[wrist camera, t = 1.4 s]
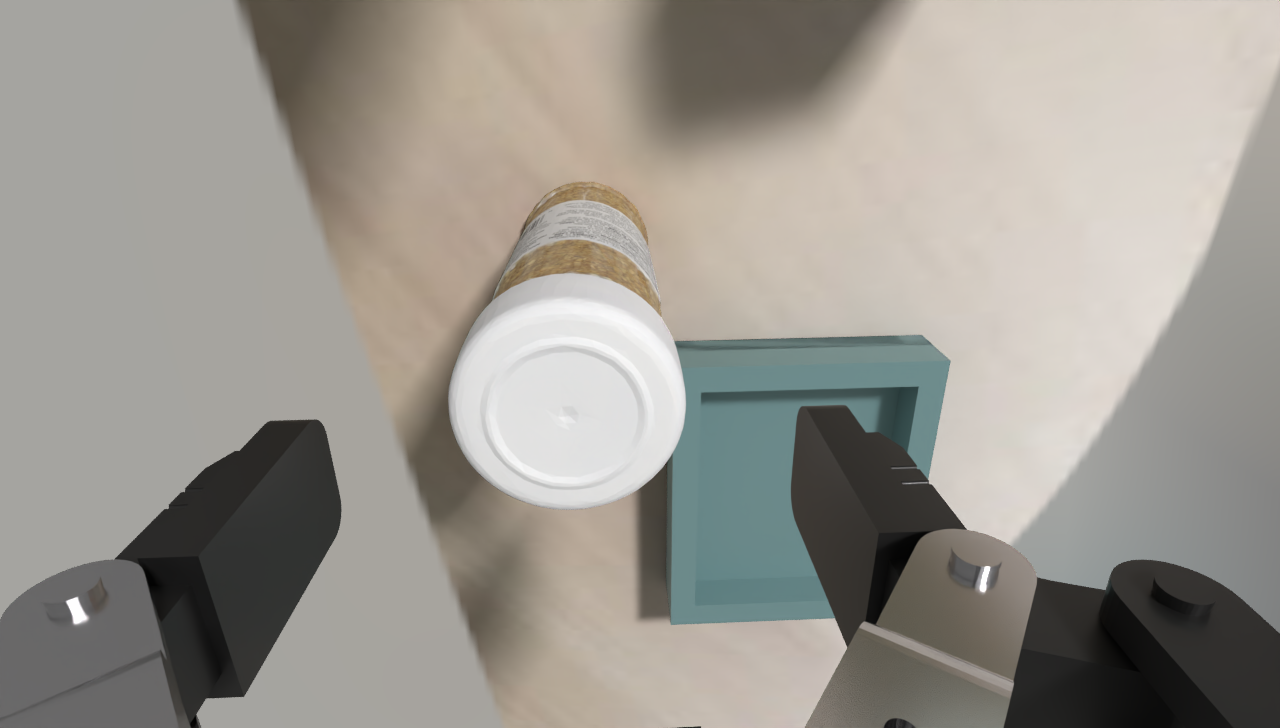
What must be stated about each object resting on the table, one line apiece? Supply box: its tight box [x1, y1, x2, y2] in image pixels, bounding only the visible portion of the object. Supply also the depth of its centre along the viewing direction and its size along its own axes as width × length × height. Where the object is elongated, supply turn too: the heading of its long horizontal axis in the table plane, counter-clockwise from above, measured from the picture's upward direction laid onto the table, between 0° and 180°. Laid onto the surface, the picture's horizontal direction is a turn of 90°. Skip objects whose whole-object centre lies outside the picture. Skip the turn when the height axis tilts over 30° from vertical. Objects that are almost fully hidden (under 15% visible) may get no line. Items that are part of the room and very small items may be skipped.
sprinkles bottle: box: [448, 182, 686, 510], centre depth 19 cm, size 5×4×13 cm
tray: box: [666, 335, 950, 625], centre depth 28 cm, size 12×10×2 cm
